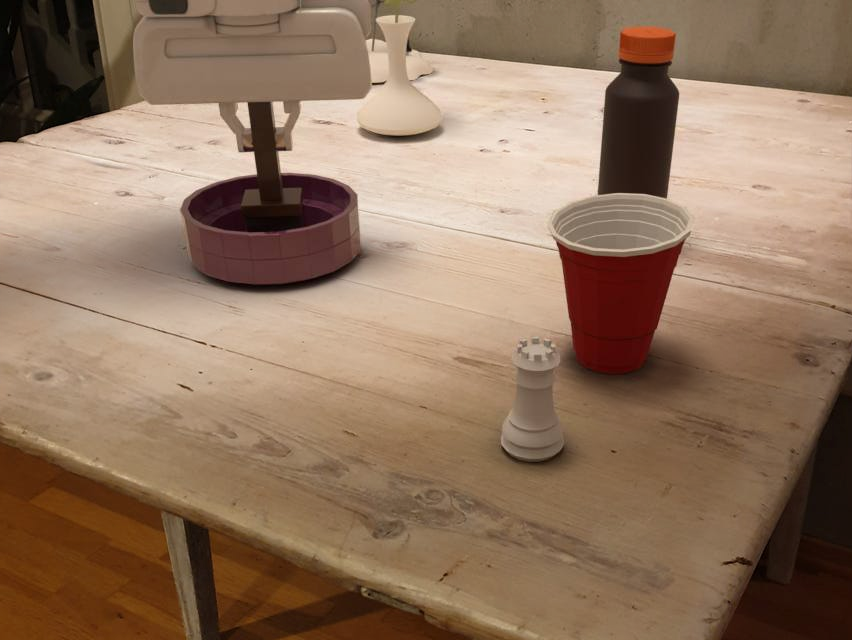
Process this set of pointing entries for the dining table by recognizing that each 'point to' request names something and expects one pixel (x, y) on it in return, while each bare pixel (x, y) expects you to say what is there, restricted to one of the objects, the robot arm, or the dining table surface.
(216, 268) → the bowl
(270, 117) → the brush
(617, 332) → the plastic cup
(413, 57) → the figurine
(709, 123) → the dining table surface
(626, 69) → the bottle
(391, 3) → the flower in vase
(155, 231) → the dining table surface
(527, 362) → the rook chess piece
